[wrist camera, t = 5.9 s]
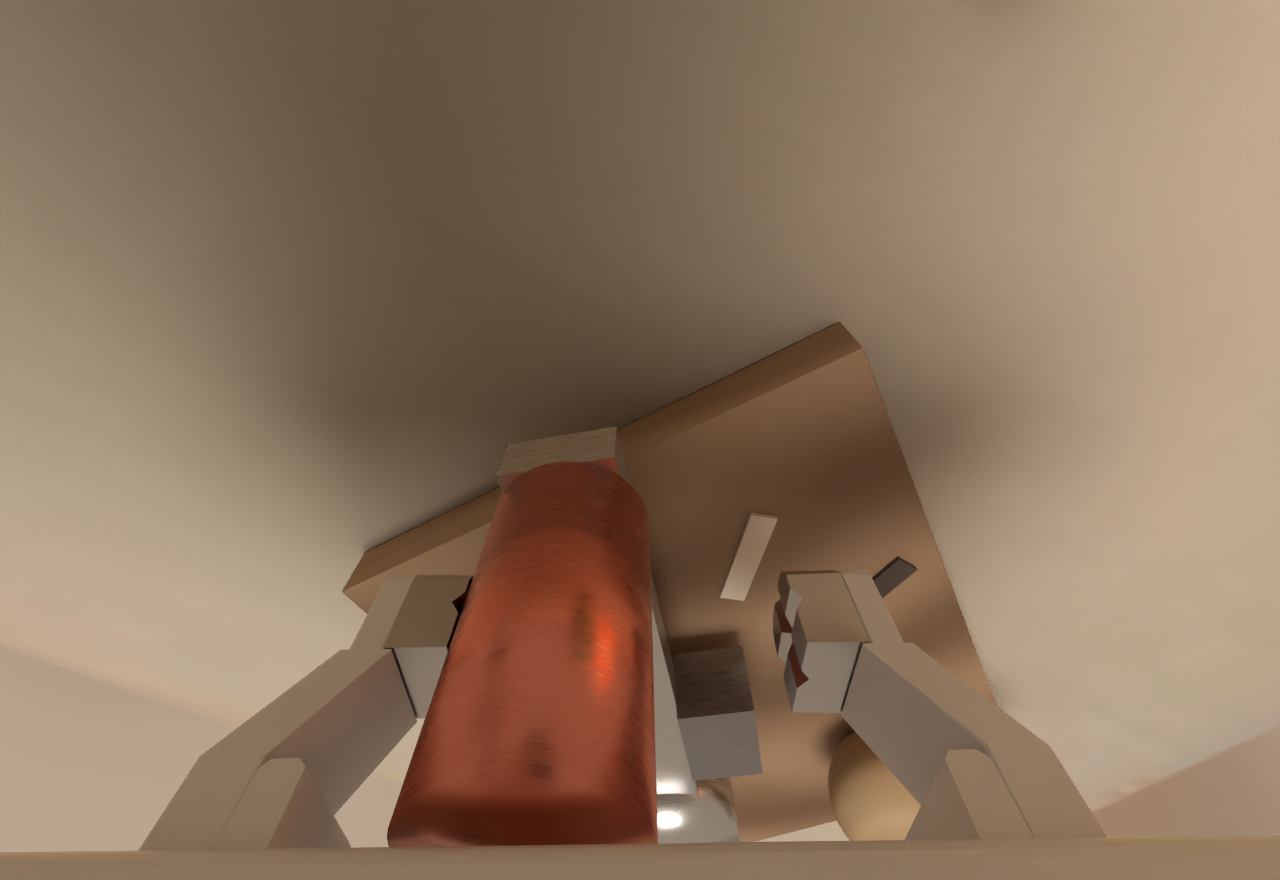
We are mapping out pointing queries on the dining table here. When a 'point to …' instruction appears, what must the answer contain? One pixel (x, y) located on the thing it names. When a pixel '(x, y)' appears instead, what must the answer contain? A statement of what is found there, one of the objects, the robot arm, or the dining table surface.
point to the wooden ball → (868, 794)
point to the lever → (574, 680)
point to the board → (757, 543)
